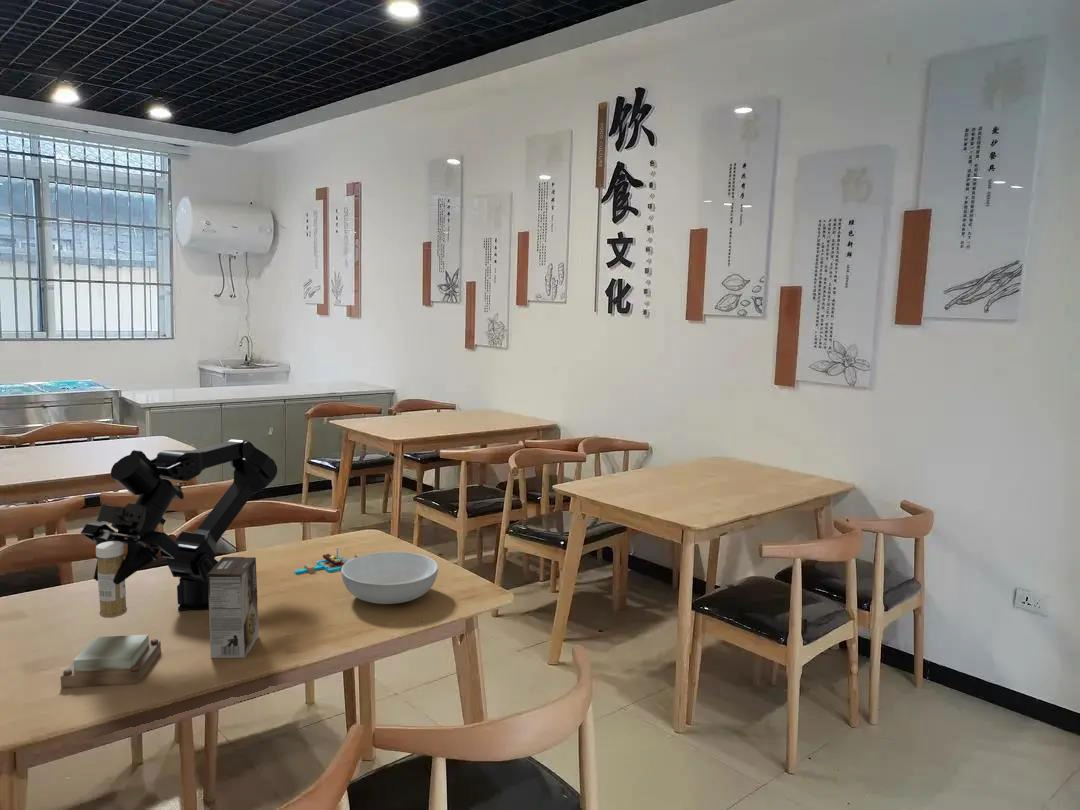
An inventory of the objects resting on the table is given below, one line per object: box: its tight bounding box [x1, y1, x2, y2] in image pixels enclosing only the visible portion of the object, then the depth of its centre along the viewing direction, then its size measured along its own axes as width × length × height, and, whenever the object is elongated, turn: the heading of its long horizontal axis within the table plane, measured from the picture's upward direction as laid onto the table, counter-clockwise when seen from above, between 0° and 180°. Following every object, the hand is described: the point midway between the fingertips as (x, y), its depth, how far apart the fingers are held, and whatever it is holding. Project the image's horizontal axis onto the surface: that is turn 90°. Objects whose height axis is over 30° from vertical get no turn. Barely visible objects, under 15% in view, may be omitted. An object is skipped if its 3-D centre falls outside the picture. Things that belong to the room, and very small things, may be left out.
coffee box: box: [207, 556, 260, 659], centre depth 143 cm, size 9×6×16 cm
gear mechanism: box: [293, 547, 364, 575], centre depth 189 cm, size 20×5×9 cm
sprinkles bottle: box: [95, 541, 128, 619], centre depth 142 cm, size 5×5×13 cm
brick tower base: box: [59, 634, 162, 689], centre depth 135 cm, size 12×12×4 cm
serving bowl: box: [340, 551, 439, 605], centre depth 170 cm, size 21×21×7 cm
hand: (105, 581), depth 141 cm, fingers closed on sprinkles bottle, 4 cm apart
